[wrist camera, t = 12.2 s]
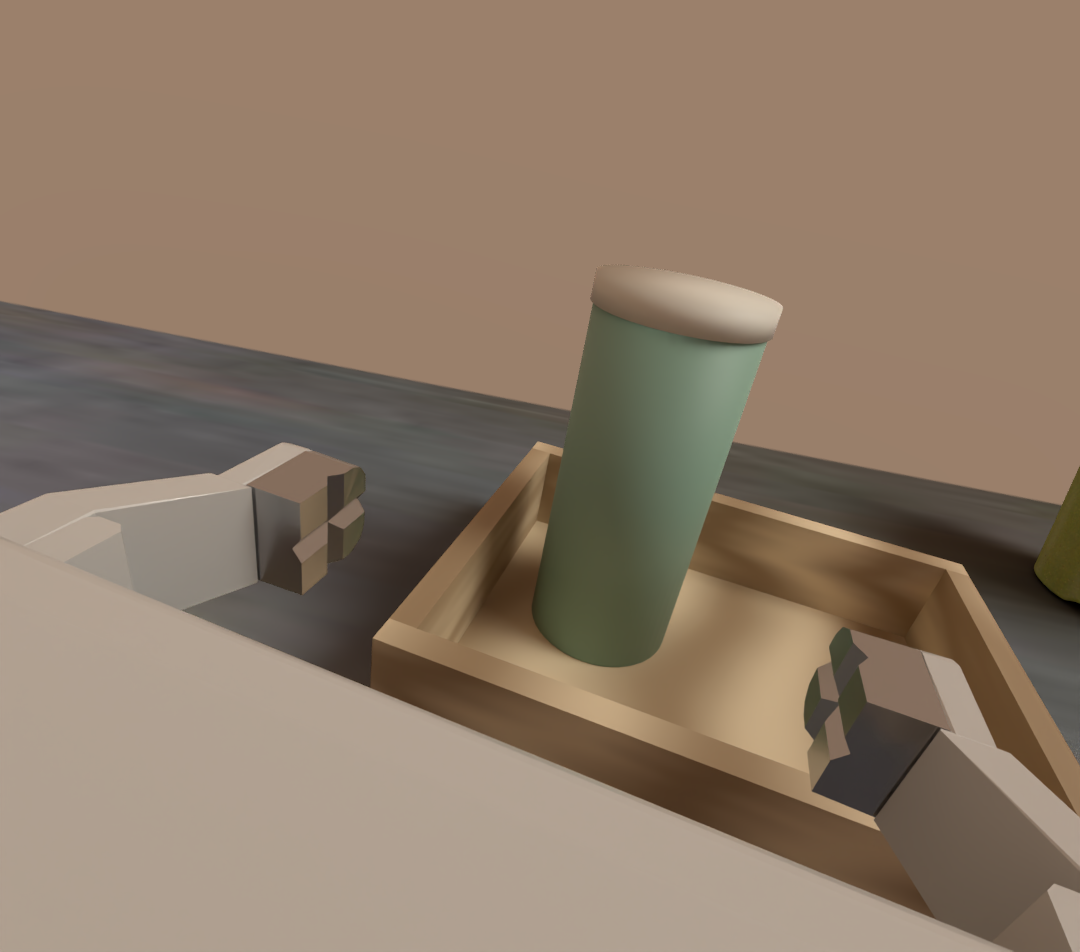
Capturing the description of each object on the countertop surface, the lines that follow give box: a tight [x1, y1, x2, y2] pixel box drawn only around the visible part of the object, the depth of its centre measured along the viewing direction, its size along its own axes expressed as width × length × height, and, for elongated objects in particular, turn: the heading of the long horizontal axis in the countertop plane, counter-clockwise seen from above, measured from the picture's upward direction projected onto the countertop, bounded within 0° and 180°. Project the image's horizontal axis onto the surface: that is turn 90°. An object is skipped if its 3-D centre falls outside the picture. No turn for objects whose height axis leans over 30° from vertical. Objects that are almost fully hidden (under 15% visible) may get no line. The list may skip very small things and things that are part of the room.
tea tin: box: [532, 265, 783, 667], centre depth 19 cm, size 5×5×12 cm
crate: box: [370, 442, 1080, 919], centre depth 20 cm, size 18×14×4 cm
